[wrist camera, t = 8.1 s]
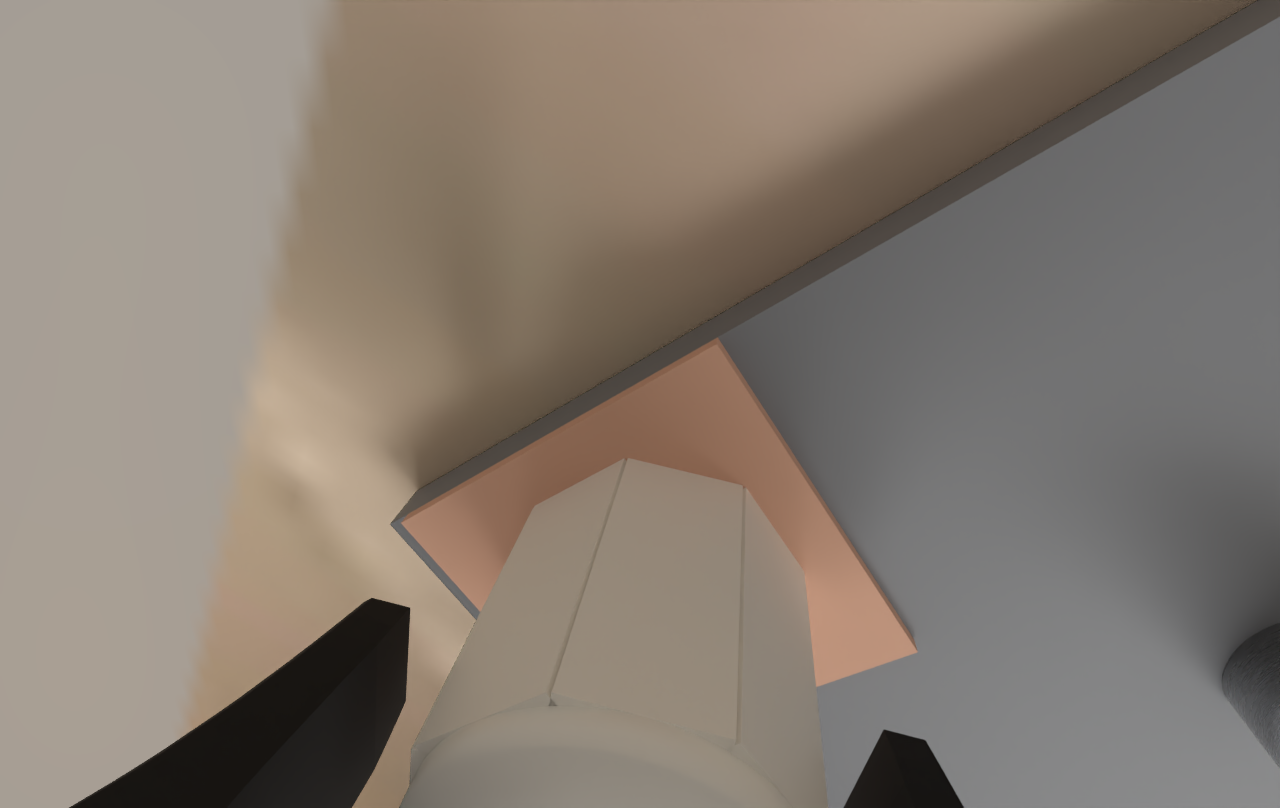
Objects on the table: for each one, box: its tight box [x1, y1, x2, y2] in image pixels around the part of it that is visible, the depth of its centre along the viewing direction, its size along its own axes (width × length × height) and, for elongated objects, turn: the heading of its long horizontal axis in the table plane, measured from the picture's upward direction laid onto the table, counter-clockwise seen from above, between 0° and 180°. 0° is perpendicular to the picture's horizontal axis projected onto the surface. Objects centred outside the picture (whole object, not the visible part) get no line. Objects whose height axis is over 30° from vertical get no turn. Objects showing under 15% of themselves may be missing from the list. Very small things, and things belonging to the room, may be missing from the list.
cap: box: [399, 458, 828, 808], centre depth 10 cm, size 5×5×6 cm
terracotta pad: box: [401, 337, 918, 687], centre depth 13 cm, size 7×7×1 cm
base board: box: [390, 0, 1280, 808], centre depth 13 cm, size 18×14×1 cm
